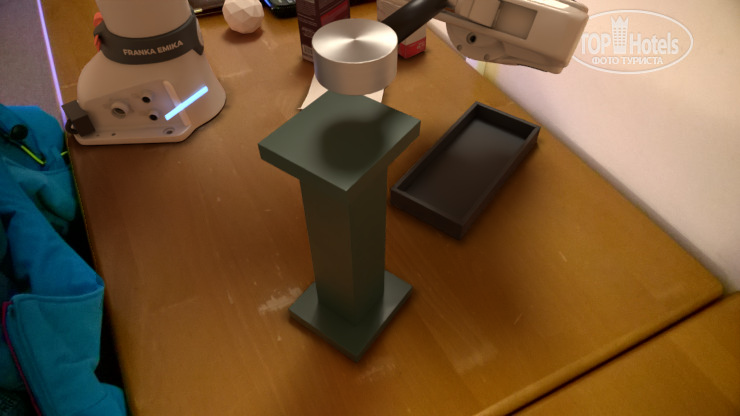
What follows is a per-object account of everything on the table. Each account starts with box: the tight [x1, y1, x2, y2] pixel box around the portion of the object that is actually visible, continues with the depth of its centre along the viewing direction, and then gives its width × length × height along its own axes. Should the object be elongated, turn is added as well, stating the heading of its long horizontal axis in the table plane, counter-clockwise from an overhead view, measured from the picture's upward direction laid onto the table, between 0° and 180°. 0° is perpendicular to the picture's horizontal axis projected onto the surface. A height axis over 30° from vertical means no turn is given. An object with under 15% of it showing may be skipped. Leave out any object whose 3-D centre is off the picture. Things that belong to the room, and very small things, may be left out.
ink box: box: [376, 0, 428, 59], centre depth 85 cm, size 9×5×12 cm, turn 33°
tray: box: [389, 100, 542, 241], centre depth 67 cm, size 22×10×3 cm, turn 144°
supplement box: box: [294, 0, 352, 64], centre depth 82 cm, size 9×5×16 cm, turn 144°
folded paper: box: [297, 72, 385, 110], centre depth 78 cm, size 12×12×2 cm
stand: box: [257, 90, 422, 364], centre depth 45 cm, size 10×9×24 cm
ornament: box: [221, 0, 265, 35], centre depth 90 cm, size 7×7×8 cm
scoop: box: [312, 0, 446, 96], centre depth 37 cm, size 19×6×2 cm, turn 144°
